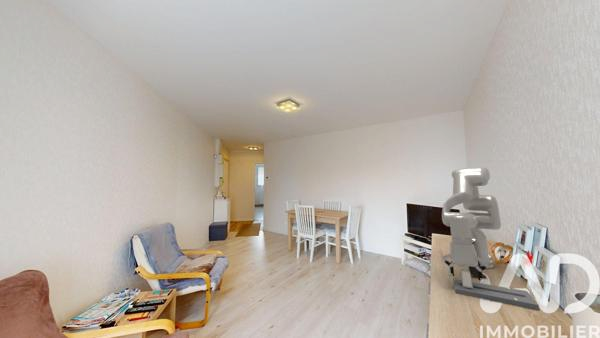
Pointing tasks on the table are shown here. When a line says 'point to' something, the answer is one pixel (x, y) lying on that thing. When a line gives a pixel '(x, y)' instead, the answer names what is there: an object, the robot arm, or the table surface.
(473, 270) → the statue
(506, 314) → the table surface
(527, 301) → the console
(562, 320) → the table surface
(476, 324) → the table surface
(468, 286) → the fader
